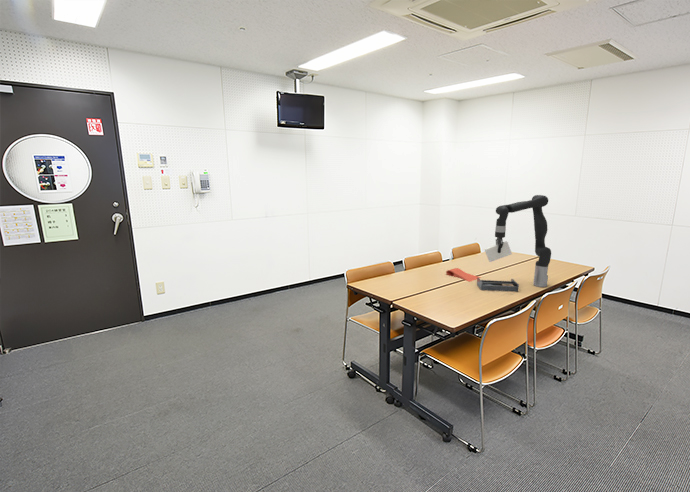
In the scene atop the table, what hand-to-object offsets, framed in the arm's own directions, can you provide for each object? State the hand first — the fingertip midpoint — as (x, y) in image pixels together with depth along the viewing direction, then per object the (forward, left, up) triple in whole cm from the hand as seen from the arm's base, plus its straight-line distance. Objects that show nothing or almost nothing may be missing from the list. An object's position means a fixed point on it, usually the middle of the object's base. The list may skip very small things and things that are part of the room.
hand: (498, 252), depth 281 cm
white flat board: (-2, 0, -5) cm, 5 cm away
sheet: (+20, -26, -30) cm, 44 cm away
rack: (0, +4, -29) cm, 29 cm away
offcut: (-7, +8, -27) cm, 29 cm away
